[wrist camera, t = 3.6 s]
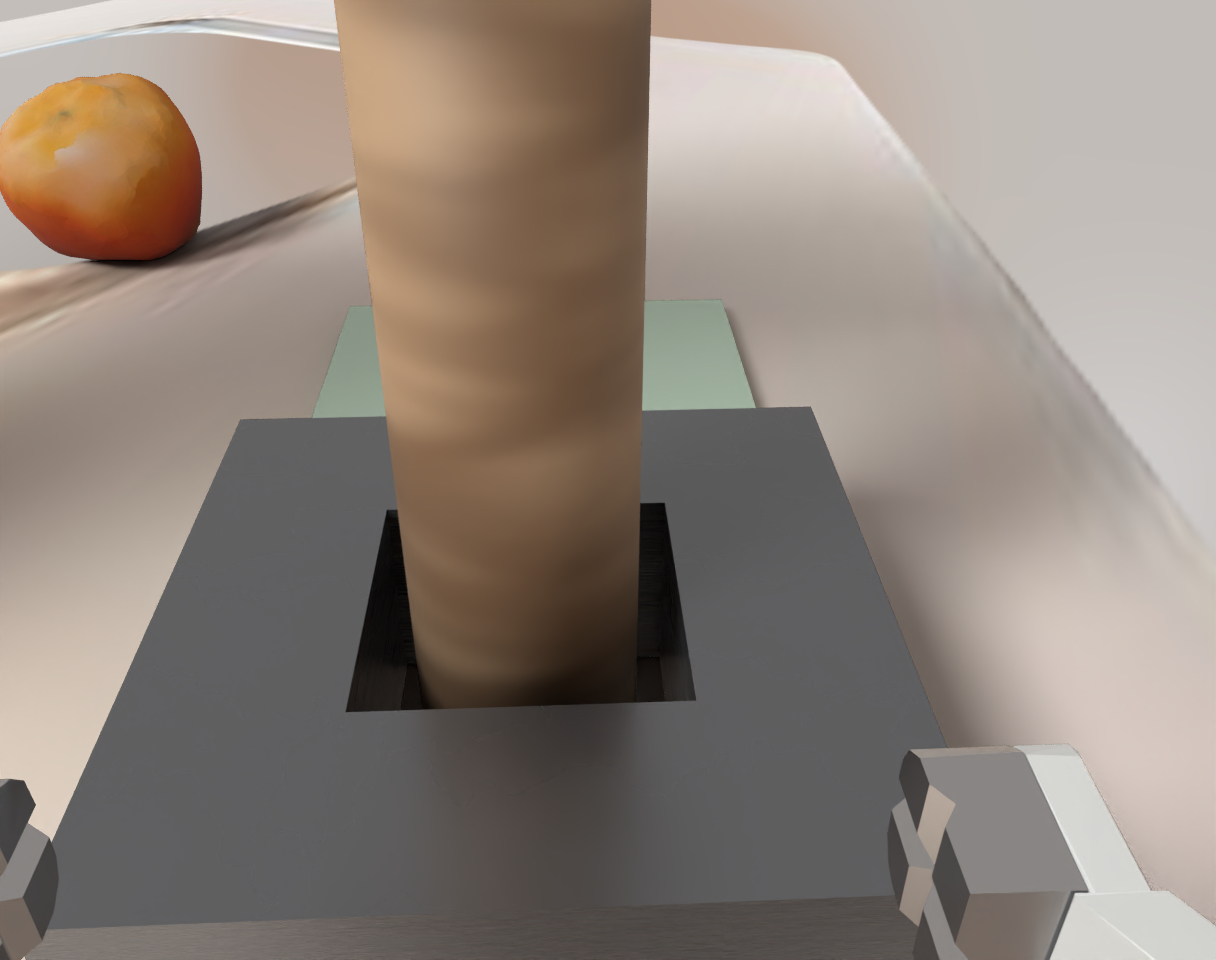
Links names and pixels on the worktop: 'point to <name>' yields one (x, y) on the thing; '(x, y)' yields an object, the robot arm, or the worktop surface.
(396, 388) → the bottle
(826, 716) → the housing
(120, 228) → the fruit
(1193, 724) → the worktop surface
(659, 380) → the mat
